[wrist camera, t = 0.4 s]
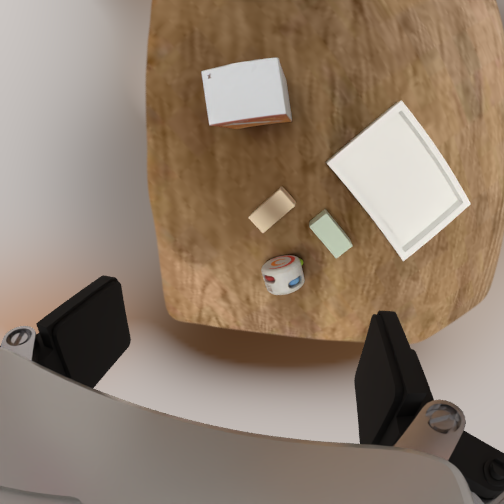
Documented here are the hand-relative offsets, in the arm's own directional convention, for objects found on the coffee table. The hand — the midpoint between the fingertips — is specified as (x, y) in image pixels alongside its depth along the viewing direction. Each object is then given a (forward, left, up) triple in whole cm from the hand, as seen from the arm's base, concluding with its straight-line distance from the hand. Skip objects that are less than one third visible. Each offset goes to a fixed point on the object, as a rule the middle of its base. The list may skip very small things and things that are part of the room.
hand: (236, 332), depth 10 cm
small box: (-11, +5, -35) cm, 37 cm away
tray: (+10, +13, -34) cm, 38 cm away
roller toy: (+9, -9, -35) cm, 37 cm away
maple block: (+1, -4, -35) cm, 35 cm away
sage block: (+9, 0, -35) cm, 36 cm away
